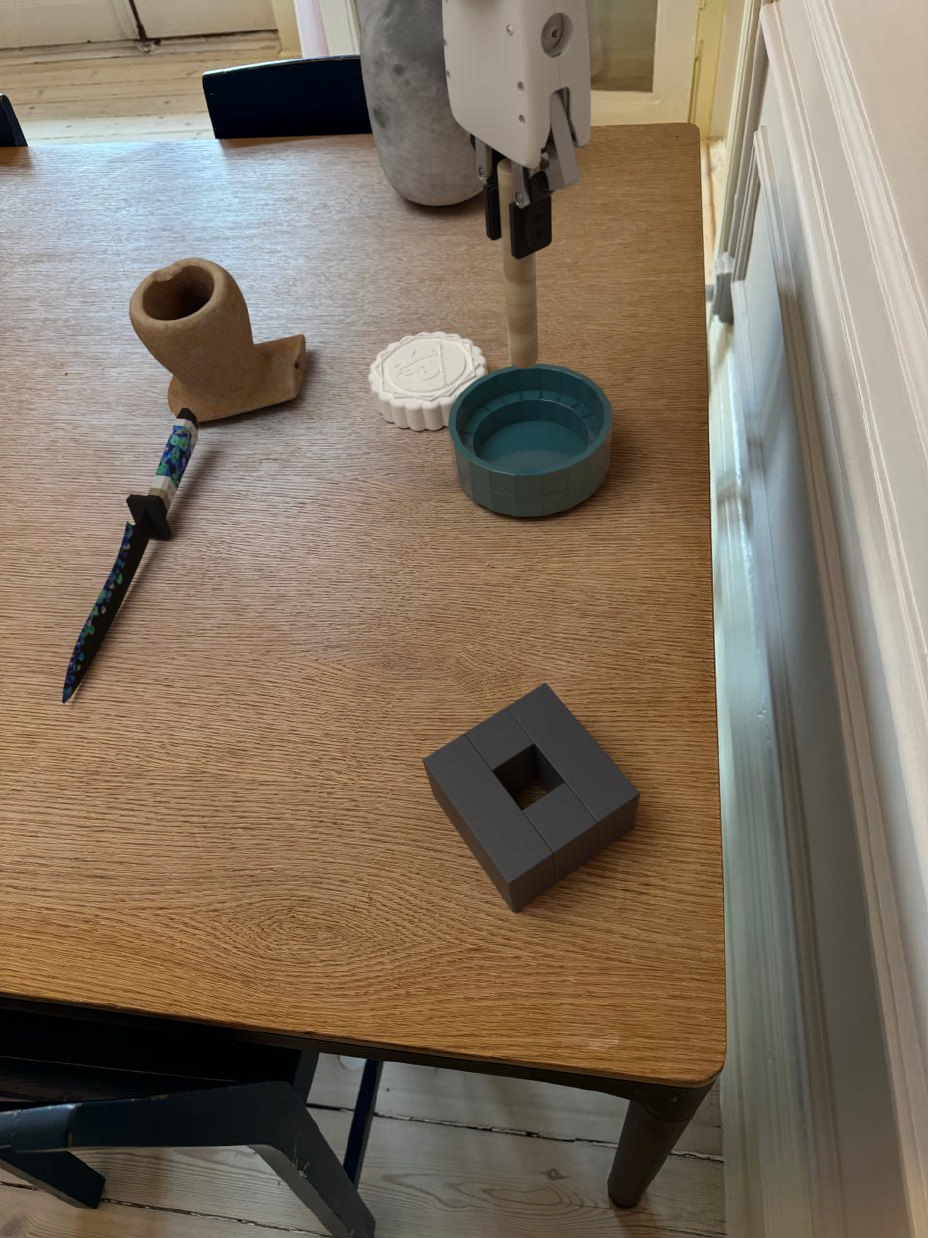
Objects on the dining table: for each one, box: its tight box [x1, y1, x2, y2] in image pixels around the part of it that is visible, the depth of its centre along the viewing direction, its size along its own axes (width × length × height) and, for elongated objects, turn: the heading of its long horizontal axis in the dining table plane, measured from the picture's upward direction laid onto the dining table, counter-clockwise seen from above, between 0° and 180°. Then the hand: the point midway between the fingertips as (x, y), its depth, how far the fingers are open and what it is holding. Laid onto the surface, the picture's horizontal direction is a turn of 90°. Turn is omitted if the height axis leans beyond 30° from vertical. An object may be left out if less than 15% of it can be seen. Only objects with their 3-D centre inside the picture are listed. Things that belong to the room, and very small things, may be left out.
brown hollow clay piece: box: [128, 257, 307, 423], centre depth 84 cm, size 15×12×15 cm
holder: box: [422, 682, 641, 914], centre depth 58 cm, size 10×10×6 cm
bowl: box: [447, 362, 613, 518], centre depth 78 cm, size 14×14×6 cm
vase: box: [359, 0, 487, 207], centre depth 98 cm, size 16×16×30 cm
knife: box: [61, 408, 199, 704], centre depth 76 cm, size 31×3×4 cm, turn 165°
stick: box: [497, 158, 539, 369], centre depth 64 cm, size 2×2×16 cm
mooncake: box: [367, 330, 489, 432], centre depth 86 cm, size 12×12×4 cm
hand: (519, 239), depth 62 cm, fingers closed on stick, 2 cm apart
